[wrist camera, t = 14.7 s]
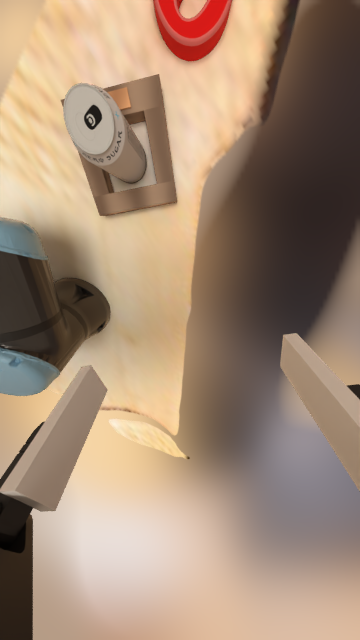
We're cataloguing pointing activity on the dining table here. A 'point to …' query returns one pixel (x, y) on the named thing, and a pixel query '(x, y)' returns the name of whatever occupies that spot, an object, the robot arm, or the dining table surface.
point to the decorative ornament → (192, 27)
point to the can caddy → (147, 105)
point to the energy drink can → (103, 132)
